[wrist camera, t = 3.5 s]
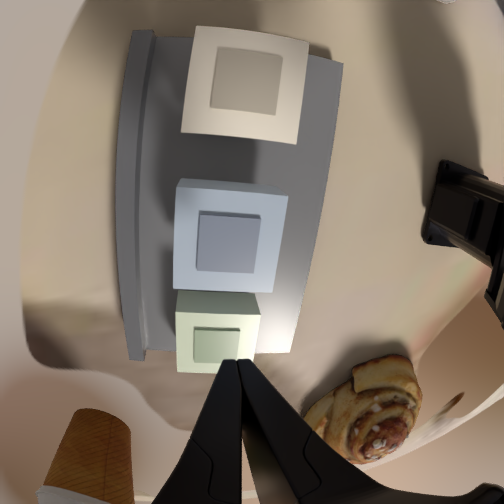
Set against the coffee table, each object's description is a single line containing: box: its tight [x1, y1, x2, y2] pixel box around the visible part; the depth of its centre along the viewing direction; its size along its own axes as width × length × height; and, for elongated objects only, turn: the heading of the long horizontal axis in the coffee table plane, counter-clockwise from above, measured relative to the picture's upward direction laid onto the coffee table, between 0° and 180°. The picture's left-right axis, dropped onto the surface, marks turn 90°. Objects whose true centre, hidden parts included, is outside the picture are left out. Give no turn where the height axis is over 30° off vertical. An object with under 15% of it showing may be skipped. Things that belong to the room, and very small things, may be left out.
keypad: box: [115, 30, 343, 361], centre depth 16 cm, size 11×19×2 cm, turn 173°
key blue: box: [173, 178, 288, 293], centre depth 13 cm, size 4×4×2 cm
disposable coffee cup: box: [36, 408, 135, 504], centre depth 18 cm, size 10×10×12 cm
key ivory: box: [181, 26, 309, 144], centre depth 11 cm, size 4×4×2 cm
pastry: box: [304, 354, 422, 464], centre depth 24 cm, size 13×15×8 cm
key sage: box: [175, 290, 261, 373], centre depth 17 cm, size 4×4×2 cm
